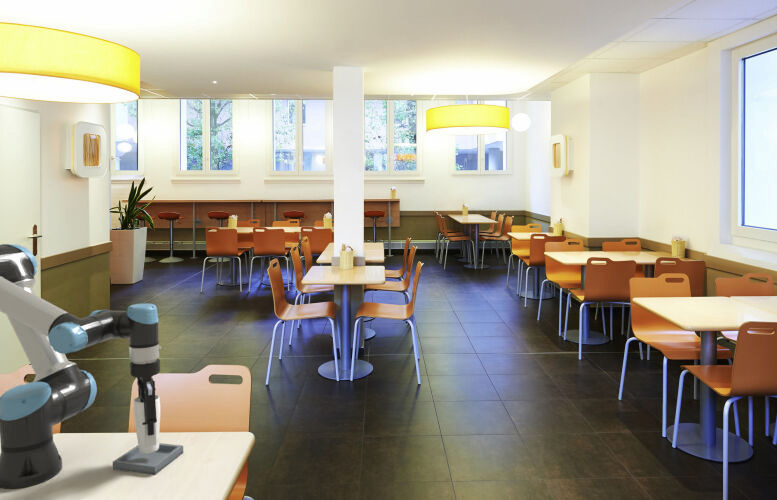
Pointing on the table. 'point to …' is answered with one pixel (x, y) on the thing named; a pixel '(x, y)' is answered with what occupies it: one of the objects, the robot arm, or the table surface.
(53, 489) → the table surface
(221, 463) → the table surface
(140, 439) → the white cup
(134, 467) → the grey tray
